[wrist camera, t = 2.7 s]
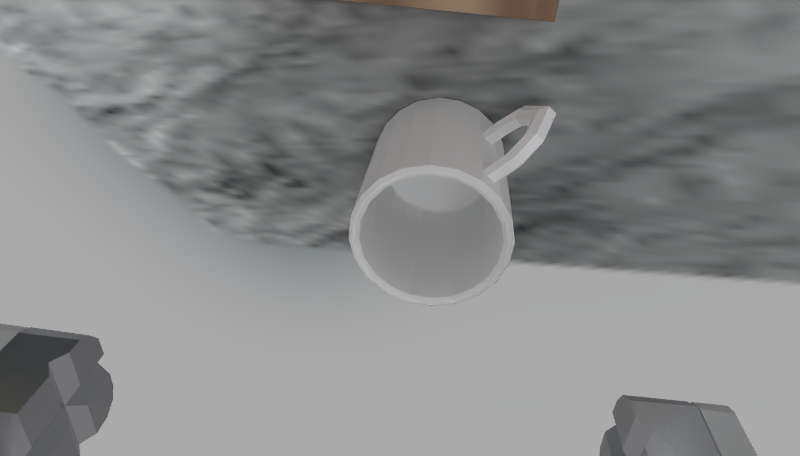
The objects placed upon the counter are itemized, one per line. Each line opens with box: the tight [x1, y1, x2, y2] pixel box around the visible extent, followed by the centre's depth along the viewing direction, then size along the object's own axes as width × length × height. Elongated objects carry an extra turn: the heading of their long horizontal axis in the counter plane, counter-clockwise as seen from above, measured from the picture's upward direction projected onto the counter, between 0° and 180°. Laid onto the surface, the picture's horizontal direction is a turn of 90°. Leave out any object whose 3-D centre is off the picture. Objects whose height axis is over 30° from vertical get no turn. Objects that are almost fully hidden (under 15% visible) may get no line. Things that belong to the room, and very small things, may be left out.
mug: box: [349, 98, 556, 306], centre depth 31 cm, size 8×12×10 cm
